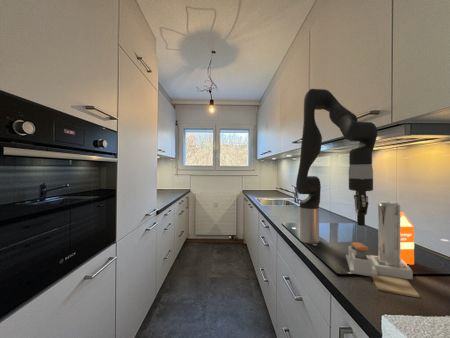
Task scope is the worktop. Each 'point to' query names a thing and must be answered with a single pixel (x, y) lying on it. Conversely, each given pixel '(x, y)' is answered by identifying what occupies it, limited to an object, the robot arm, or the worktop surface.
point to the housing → (376, 266)
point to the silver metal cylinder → (389, 234)
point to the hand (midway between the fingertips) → (361, 225)
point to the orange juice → (406, 239)
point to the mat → (394, 285)
